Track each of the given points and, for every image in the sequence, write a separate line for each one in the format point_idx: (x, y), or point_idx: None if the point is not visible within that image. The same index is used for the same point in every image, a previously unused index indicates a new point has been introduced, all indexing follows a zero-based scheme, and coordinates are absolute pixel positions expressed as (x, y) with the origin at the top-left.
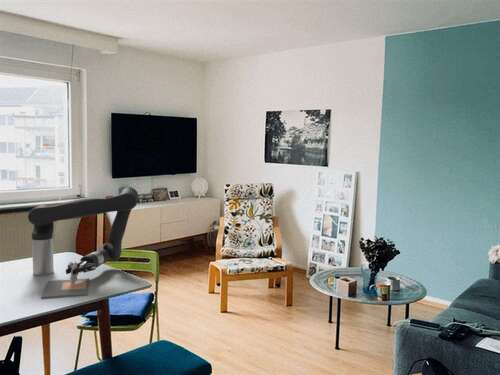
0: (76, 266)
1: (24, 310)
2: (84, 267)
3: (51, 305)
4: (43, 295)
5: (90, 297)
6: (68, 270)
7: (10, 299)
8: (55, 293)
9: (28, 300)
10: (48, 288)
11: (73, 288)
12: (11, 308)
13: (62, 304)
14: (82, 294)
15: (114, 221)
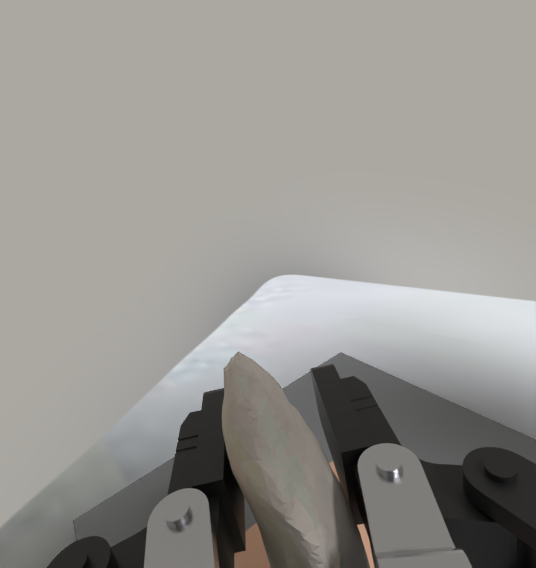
0: (226, 444)
1: (289, 303)
2: (68, 549)
3: (225, 354)
4: (350, 364)
5: (41, 510)
6: (318, 399)
7: (466, 305)
8: (313, 409)
9: (378, 332)
10: (475, 438)
11: (257, 544)
12: (349, 291)
13: (181, 377)
14: (114, 500)
15: None
